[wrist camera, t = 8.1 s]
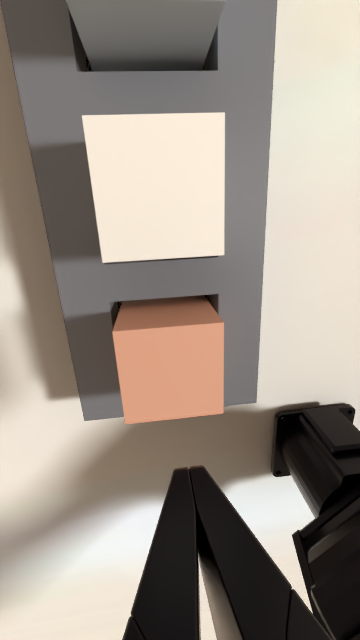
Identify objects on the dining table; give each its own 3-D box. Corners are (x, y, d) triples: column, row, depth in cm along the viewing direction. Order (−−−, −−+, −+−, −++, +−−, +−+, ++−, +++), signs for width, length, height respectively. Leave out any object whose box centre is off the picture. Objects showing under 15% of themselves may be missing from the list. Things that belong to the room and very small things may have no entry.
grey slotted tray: (242, 378, 21) (256, 402, 18) (93, 393, 20) (84, 421, 17) (256, -102, 13) (287, -195, 10) (2, -113, 12) (-44, -218, 9)
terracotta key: (205, 366, 19) (223, 413, 14) (131, 373, 19) (125, 424, 14) (203, 295, 17) (223, 322, 13) (122, 301, 17) (112, 331, 12)
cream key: (202, 245, 16) (224, 254, 12) (116, 250, 16) (102, 262, 11) (200, 147, 15) (224, 112, 10) (103, 150, 14) (81, 115, 10)
